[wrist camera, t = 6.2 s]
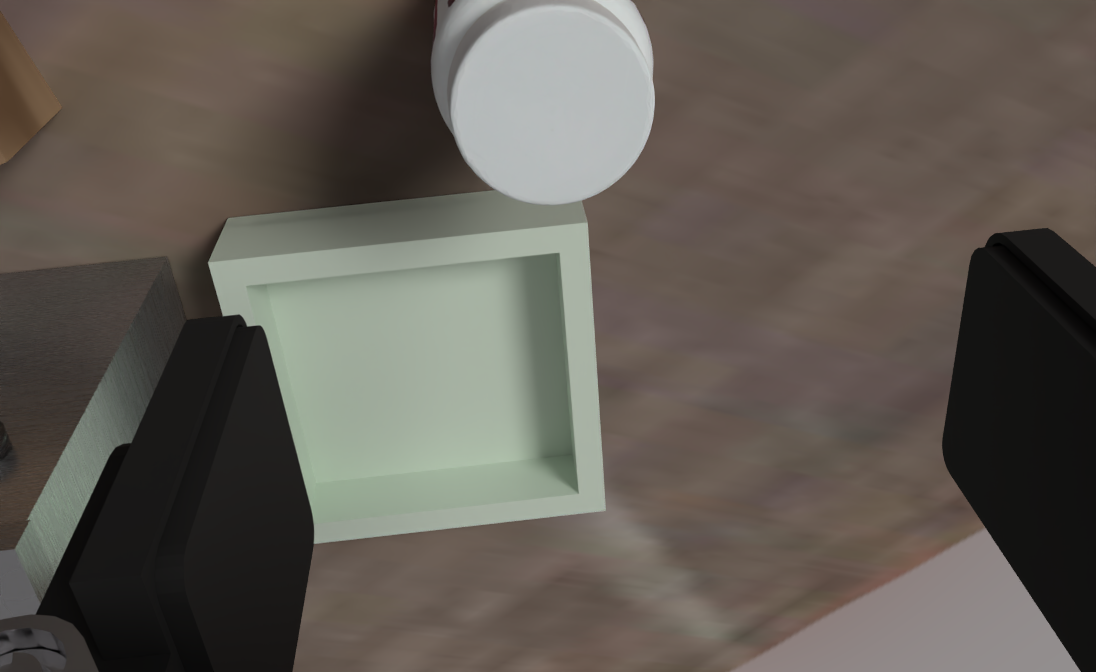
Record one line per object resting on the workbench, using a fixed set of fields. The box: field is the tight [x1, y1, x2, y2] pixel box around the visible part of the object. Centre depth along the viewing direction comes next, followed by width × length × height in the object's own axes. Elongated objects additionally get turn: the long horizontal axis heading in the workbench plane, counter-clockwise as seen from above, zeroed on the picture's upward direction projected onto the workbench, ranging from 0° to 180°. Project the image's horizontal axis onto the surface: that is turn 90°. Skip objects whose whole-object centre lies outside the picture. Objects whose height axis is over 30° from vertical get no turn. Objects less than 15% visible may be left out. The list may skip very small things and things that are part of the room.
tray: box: [208, 190, 606, 544], centre depth 31 cm, size 10×10×3 cm
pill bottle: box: [431, 0, 655, 205], centre depth 23 cm, size 5×5×8 cm
